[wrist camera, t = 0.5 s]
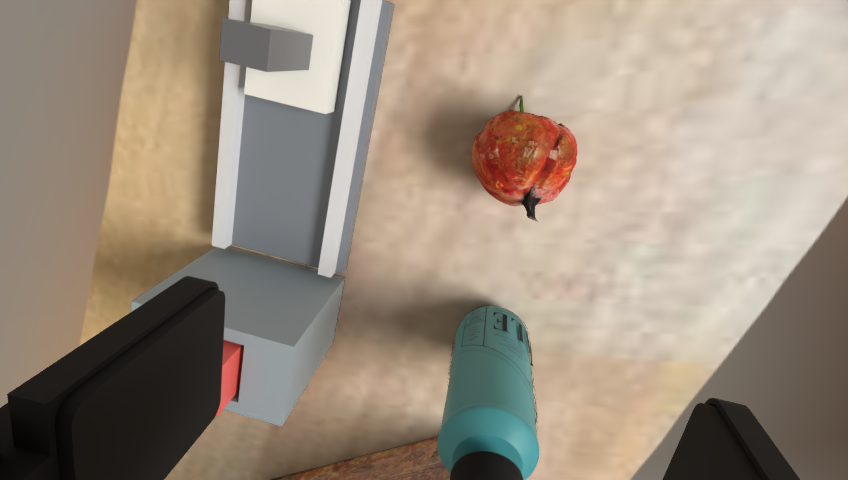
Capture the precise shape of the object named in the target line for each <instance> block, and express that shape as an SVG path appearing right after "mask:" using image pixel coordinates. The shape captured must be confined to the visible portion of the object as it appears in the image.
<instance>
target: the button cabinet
mask: <svg viewBox="0 0 848 480" xmlns="http://www.w3.org/2000/svg"><path fill="white" fill-rule="evenodd" d="M186 276H191V277H196V278H200V279H204V280H208V281H213V282H216V283H217V284H218V287H219V290H220V291H223V292H224V293H225V320H224V340H227V341H230V342H234V343H237V344H241V345H244V353H243V362H242V372H241V381H240V389H239V391H238V392H237V393H236V394H235V396H234V397H233V398H232V399H231V401H230V402H229V403H228V404H227V405H226V407H225V408H224V409H223V410H227V411H230V412H234V413H237V414H241V415H244V416H247V417H251V418H254V419H258V420H261V421H264V422H268V423H271V424H275V425H278V426H283V424H284V422H285V421H286V419H287V417H288V416H289V414H290V413H291V411H292V409H293V408H294V406H295V404H296V403H297V401H298V399H299V398H300V396H301V394H302V393H303V391H304V390H305V388H306V386H307V385H308V383H309V381H310V380H311V378H312V376H313V375H314V373H315V372H316V370H317V368H318V367H319V365H320V363H321V362H322V360H323V358H324V357H325V355H326V353H327V352H328V350H329V349H330V347H331V345H332V344H333V341H334V336H335V330H336V325H337V319H338V314H339V308H340V303H341V297H342V292H343V286H344V281H345V277H342V276H338V275H333V276H332V277H331V278H330V277H326V276H323V275H319V274H318V270H316V269H312V268H309V267H305V266H301V265H297V264H294V263H290V262H286V261H283V260H279V259H275V258H271V257H268V256H264V255H260V254H257V253H253V252H249V251H246V250H242V249H238V248H234V247H231V246H228V247H227V248H225V249H223V248H219V247H215V248H213V249H212V250H210V251H208V252H207V253H205V254H204V255H202V256H201V257H199V258H198V259H196V260H194V261H193V262H191V263H190V264H188V265H187V266H185V267H184V268H182V269H180V270H179V271H177V272H176V273H174V274H173V275H171V276H170V277H168V278H166V279H165V280H163V281H162V282H160V283H159V284H157V285H156V286H154V287H153V288H151V289H149V290H148V291H146V292H145V293H143V294H142V295H140V296H139V297H137V298H135V299H134V300H132V301H131V312H132V311H134V310H135V309H137V308H138V307H140V306H141V305H143V304H144V303H146V302H147V301H149V300H150V299H152V298H153V297H155V296H156V295H158V294H159V293H161V292H162V291H164V290H165V289H167V288H168V287H170V286H171V285H173V284H174V283H176V282H177V281H179V280H180V279H182V278H183V277H186Z"/></svg>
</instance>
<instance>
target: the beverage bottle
mask: <svg viewBox="0 0 848 480" xmlns="http://www.w3.org/2000/svg"><path fill="white" fill-rule="evenodd" d="M522 322H523V321H521V320H520V319H519V317H518V316H516V315H515V314H514V313H512V312H511V311H509V310H507V309H504V308H501V307H497V306H485V307H481V308H478V309H475V310H473V311H471V312H470V313H468V315H466V316H465V318H464V319H463V320H462V321H461V323H460V324H459V326H458V329H457V333H456V339H455V345H454V347H453V346H452V348H454V350H453V349H452V351H454V352H453V353H451V354H452V355H453V358H452V361H451V362H452V364H451V365H450V366H451V369H449V370H450V379H449V386H448V391H447V397H446V403H445V408H444V414H443V420H442V426H441V429H440V432H439V436H438V442H437V447H438V453H439V457H440V459H441V462H442V464H443V465H444V467H445V468H446V470H447V471H448V472H449V473H450V480H526V479H527V478H528V477H529V476H530V475H531V474H532V472H533V471H534V469H535V467H536V465H537V462H538V458H539V444H538V439H537V434H536V432H537V431H536V422H537V419H536V420H535V413H536V415H537V412H535V411H536V410H535V408H536V407H537V406H536V405H535V404H534V398H535V397H534V396H533V395H534V394H533V387H534V386H533V385H532V384H533V383H532V382H533V381H534V380H533V381H532V372H531V365H532V366H533V364H532V353H531V345H530V346H529V343H530V342H529V340H528V334H527V332H528V331H526V328H525V326H526V325H525V326H524V324H523V323H524V322H523V323H522ZM453 343H454V342H453ZM529 352H530V353H529ZM452 355H451V356H452ZM530 355H531V360H530ZM448 372H449V371H448ZM448 375H449V374H448ZM533 379H534V378H533ZM534 389H535V388H534ZM535 400H536V399H535ZM535 403H536V401H535ZM534 405H535V406H536V407H534ZM537 423H538V422H537Z"/></svg>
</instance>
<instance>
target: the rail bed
mask: <svg viewBox="0 0 848 480" xmlns="http://www.w3.org/2000/svg"><path fill="white" fill-rule="evenodd" d="M350 1H351V4H350V11H349V17H348V24H347V30H346V37H345V43H344V50H343V57H342V63H341V70H340V76H339V83H338V89H337V96H336V102H335V109H334V112H331V113H328V114H323V113H319V112H315V111H311V110H307V109H303V108H299V107H295V106H291V105H287V104H283V103H279V102H275V101H271V100H267V99H263V98H259V97H255V96H251V95H247V94H244V89H245V78H246V67H244V66H240V65H236V64H232V63H228V62H225V70H224V84H223V97H222V111H221V124H220V138H219V152H218V165H217V179H216V192H215V206H214V219H213V233H212V246H215V247H219V248H223V249H225V248H227V247H228V246H230V245H231V244H232V245H236V246H240V247H243V248H247V249H251V250H255V251H258V252H262V253H266V254H269V255H273V256H277V257H280V258H284V259H288V260H292V261H295V262H299V263H303V264H306V265H310V266H314V267H318V274H319V275H323V276H326V277H330V278H331V277H332V276H333V275H334V273H335V272H336V273H340V274H342V273H343V272H344V271H345V269H346V268H347V264H348V259H349V253H350V247H351V242H352V236H353V231H354V225H355V220H356V214H357V209H358V203H359V198H360V192H361V187H362V181H363V176H364V170H365V165H366V159H367V154H368V148H369V143H370V137H371V131H372V126H373V120H374V115H375V109H376V104H377V98H378V93H379V87H380V82H381V76H382V71H383V65H384V60H385V54H386V49H387V43H388V38H389V32H390V26H391V21H392V15H393V10H394V4H393V3H391V2H387V1H383V0H350ZM251 10H252V0H230V3H229V16H228V19H234V20H241V21H248V22H250V21H251Z"/></svg>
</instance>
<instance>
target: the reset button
mask: <svg viewBox="0 0 848 480" xmlns="http://www.w3.org/2000/svg"><path fill="white" fill-rule="evenodd" d="M243 353H244V345H241V344H237V343H234V342H230V341H227V340H224V341H223V363H222V384H221V401H220V406H219V409H218V412H217V414H216V416H218V415H219V414H220V413H221V412H222V410H223V409H224V408H225V407H226V405H227V404H228V403H229V402H230V401H231V399H232V398H233V397H234V396H235V394H236V393H237V392H238V391H239V389H240V381H241V372H242V362H243Z"/></svg>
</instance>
